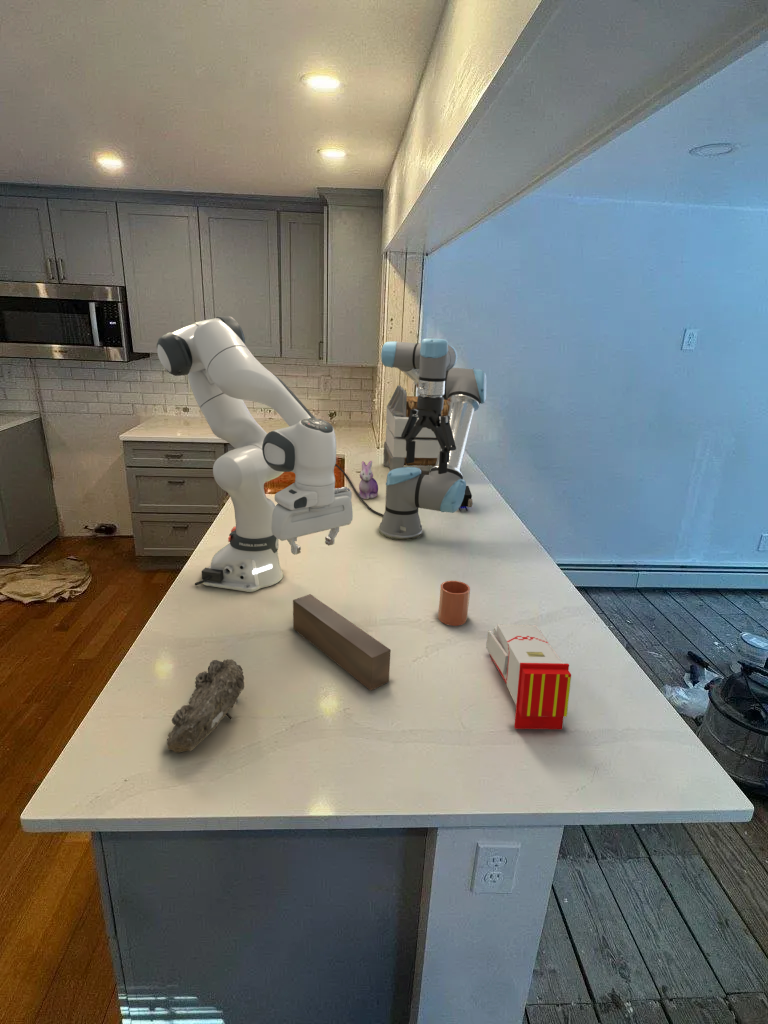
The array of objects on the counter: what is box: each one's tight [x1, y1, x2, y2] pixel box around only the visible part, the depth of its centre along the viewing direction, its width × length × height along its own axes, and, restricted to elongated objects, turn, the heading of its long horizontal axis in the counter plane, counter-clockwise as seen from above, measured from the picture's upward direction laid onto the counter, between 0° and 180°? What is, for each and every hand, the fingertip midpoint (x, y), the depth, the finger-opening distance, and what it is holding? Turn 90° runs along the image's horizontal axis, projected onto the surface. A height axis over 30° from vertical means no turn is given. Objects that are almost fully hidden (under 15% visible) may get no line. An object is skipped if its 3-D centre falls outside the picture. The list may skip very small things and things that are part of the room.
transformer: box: [383, 384, 462, 473], centre depth 268 cm, size 34×33×41 cm
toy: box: [485, 623, 572, 730], centre depth 120 cm, size 12×13×30 cm
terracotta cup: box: [437, 580, 471, 627], centre depth 145 cm, size 7×7×9 cm
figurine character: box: [458, 485, 473, 512], centre depth 229 cm, size 7×8×15 cm
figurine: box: [358, 460, 379, 500], centre depth 236 cm, size 9×10×15 cm
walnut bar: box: [292, 593, 392, 691], centre depth 128 cm, size 5×30×8 cm, turn 41°
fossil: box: [166, 658, 245, 754], centre depth 106 cm, size 22×10×15 cm
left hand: (313, 548), depth 132 cm, fingers open, 8 cm apart
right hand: (425, 467), depth 168 cm, fingers open, 13 cm apart
